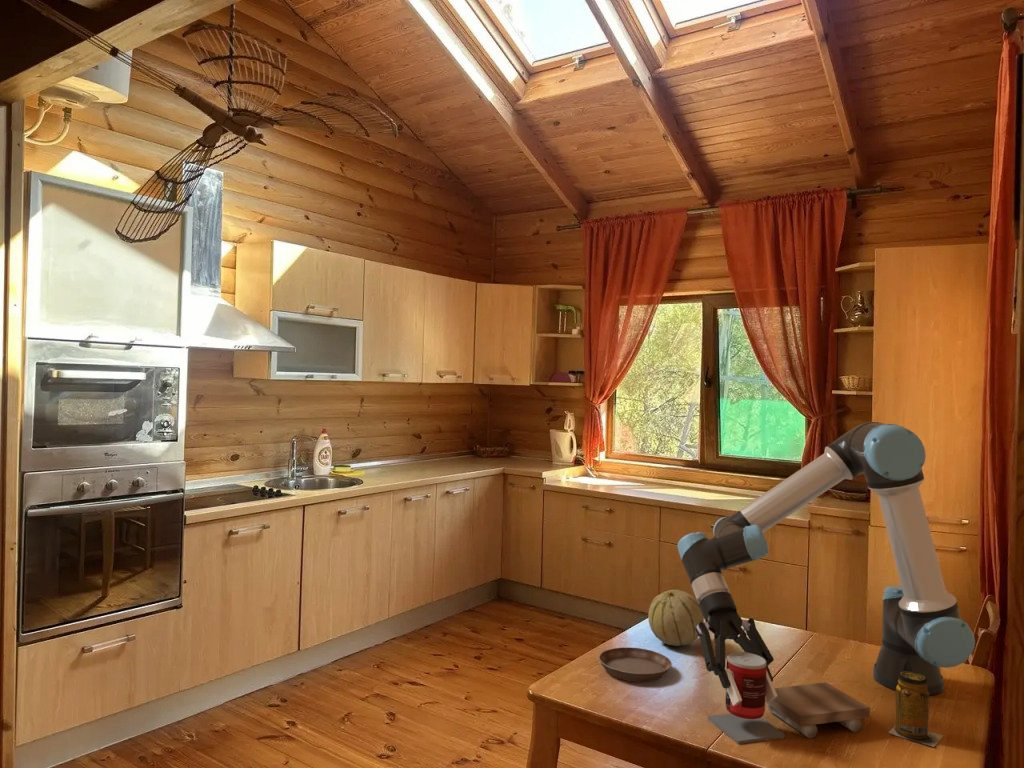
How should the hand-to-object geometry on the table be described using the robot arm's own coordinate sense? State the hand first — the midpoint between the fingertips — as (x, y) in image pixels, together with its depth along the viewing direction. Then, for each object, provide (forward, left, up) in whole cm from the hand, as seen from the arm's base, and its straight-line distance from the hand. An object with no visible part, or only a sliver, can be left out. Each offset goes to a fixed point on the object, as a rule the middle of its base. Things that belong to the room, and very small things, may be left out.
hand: (755, 701), depth 150 cm
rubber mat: (0, -3, -7) cm, 8 cm away
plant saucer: (+9, -36, -8) cm, 38 cm away
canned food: (0, -3, -4) cm, 5 cm away
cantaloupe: (-10, -50, -7) cm, 52 cm away
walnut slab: (-16, -2, -7) cm, 18 cm away
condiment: (-33, +8, -7) cm, 35 cm away
